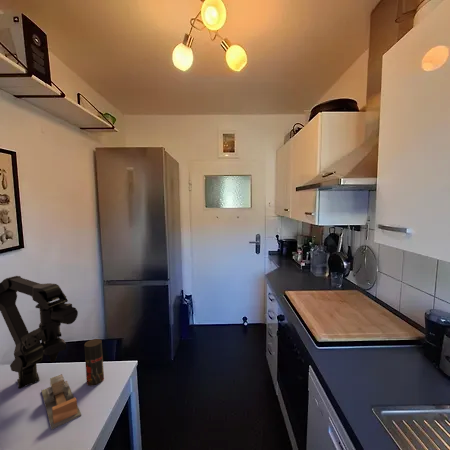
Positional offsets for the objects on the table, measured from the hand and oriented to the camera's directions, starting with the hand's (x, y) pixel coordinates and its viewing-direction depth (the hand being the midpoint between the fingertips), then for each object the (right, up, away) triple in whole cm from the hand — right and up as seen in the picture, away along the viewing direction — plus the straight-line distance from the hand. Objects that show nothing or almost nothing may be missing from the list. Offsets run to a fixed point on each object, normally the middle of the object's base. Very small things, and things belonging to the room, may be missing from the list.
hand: (52, 361), depth 98 cm
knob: (+5, -10, -5) cm, 12 cm away
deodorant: (+13, -10, +5) cm, 17 cm away
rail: (+7, -11, -7) cm, 14 cm away
